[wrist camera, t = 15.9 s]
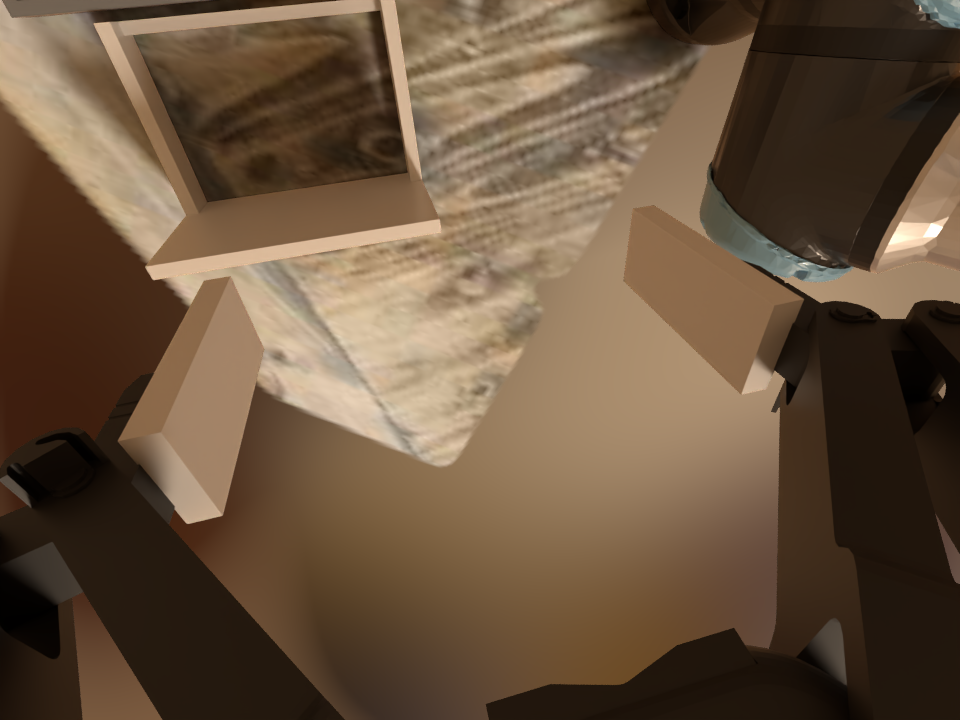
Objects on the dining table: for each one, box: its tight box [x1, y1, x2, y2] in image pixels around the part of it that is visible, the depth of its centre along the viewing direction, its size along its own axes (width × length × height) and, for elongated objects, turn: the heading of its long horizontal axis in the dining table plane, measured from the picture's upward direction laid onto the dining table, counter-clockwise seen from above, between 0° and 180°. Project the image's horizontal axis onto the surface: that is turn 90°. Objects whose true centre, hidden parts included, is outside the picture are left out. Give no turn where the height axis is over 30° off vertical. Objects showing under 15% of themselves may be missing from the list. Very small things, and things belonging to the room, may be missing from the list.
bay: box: [93, 0, 441, 280], centre depth 33 cm, size 20×14×13 cm
